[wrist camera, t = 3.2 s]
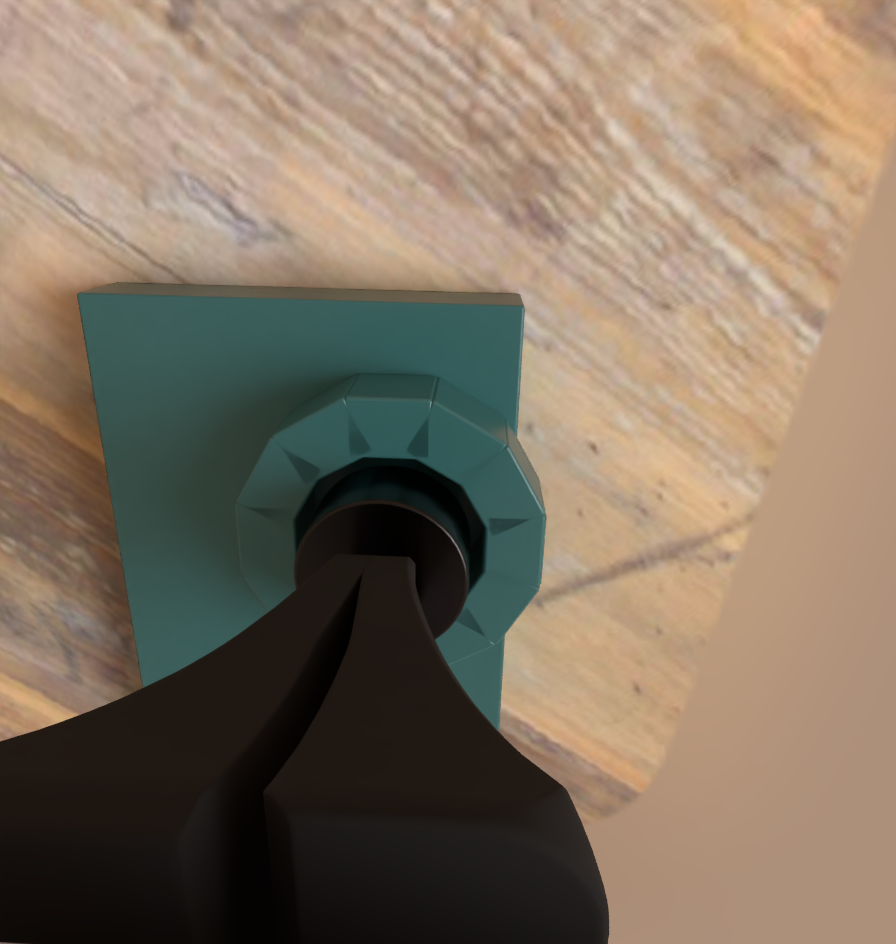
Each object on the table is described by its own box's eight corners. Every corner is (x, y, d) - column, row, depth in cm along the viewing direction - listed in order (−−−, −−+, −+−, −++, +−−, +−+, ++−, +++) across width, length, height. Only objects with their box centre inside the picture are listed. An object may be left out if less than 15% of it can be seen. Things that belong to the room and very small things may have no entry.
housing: (514, 730, 20) (521, 835, 17) (178, 714, 20) (121, 814, 17) (546, 294, 16) (563, 322, 12) (115, 281, 16) (22, 306, 13)
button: (467, 608, 15) (466, 659, 14) (317, 602, 15) (297, 651, 14) (473, 466, 14) (471, 504, 12) (309, 461, 14) (287, 497, 12)
